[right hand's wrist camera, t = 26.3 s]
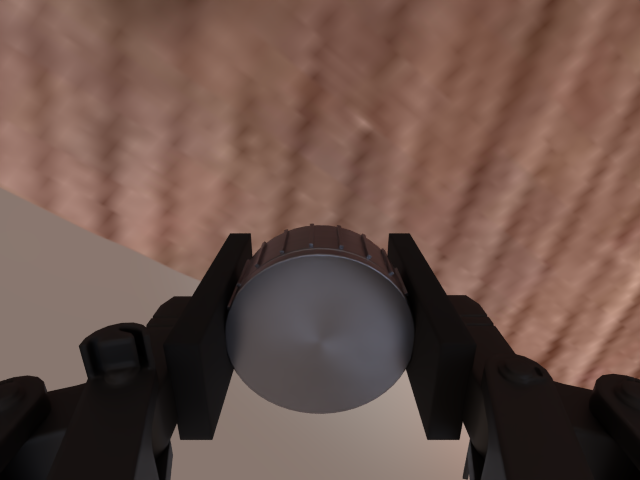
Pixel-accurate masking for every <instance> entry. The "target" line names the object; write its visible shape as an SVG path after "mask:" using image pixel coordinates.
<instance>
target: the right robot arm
mask: <svg viewBox="0 0 640 480" xmlns="http://www.w3.org/2000/svg"><path fill="white" fill-rule="evenodd" d="M387 257H388V259H389V260H390V261H391V263H392V265H393V267H394V269H395V268H397V269H398V271H399V273H400V276H401V278H402V280H403V283H404V285H405V287H406V290H407V292H408V294H409V296H406V297H407V300H408V302H409V305H410V307H411V310H412V313H413V316H414V322H415V338H414V347H413V353H412V356H411V359H410V361H409V364H408V366H407V368H406V371H407V374H408V377H409V381H410V384H411V387H412V390H413V394H414V397H415V400H416V404H417V407H418V410H419V414H420V417H421V420H422V423H423V427H424V430H425V433H426V437H427V439H428V440H459V439H460V434H461V429H462V423H464V425H465V428H466V430H467V432H468V435H469V437H470V442H469V447H468V452H467V457H466V462H465V467H464V473H463V479H468V476H469V477H470V480H640V380H639V379H637V378H634V377H629V376H626V375H618V374H608V375H602V376H601V377H600V378H598V379H597V380H596V383H595V386H594V389H593V390H589V389H585V388H580V387H575V386H571V385H566V384H562V383H558V382H555V381H553V379H552V377H551V376H550V374H549V373H548V372H547V370H546V369H545V368H543V367H542V366H541V365H539V364H538V363H537V362H535V361H533V360H531V359H529V358H527V357H524V356H521V355H517V354H515V353H514V351H513V350H512V348H511V347H510V346H509V344H508V343H507V342H506V340H505V339H504V337H503V336H502V335H501V333H500V332H499V331H498V329H497V328H496V327H495V326H494V325H493V322H492V321H491V320H490V318H489V317H487V314H486V313H485V311H484V310H483V309H482V307H481V306H480V305H479V304H478V303H477V302H475V301H474V300H472V299H471V298H469V297H468V296H466V295H447V294H446V293H445V291H444V289H443V288H442V286H441V285H440V283H439V281H438V280H437V278H436V276H435V275H434V273H433V271H432V270H431V268H430V266H429V265H428V263H427V261H426V260H425V258H424V256H423V255H422V253H421V251H420V250H419V248H418V247H417V245H416V243H415V242H414V240H413V238H412V237H411V235H410V233H389V241H388V255H387ZM251 258H252V245H251V233H230V235H229V236H228V238H227V240H226V241H225V243H224V244H223V246H222V248H221V249H220V251H219V253H218V254H217V256H216V258H215V259H214V261H213V263H212V264H211V266H210V268H209V269H208V271H207V273H206V274H205V276H204V277H203V279H202V281H201V282H200V284H199V286H198V287H197V289H196V291H195V292H194V294H193V296H175V297H173V298H171V299H170V300H168V301H167V302H165V303H164V304H162V305H161V306H160V307H159V309H158V310H157V311H156V313H155V314H154V315H153V318H152V319H151V320H150V321H149V322H148V324H147V326H146V327H145V326H144V325H142V324H137V323H119V324H115V325H110V326H107V327H105V328H102V329H100V330H97V331H95V332H94V333H92V334H91V335H89V336H88V337H86V338H85V339H84V340H83V342H82V343H81V344H80V345H79V348H80V352H81V356H82V359H83V363H84V366H85V370H86V373H87V377H88V380H87V382H86V383H84V384H80V385H77V386H72V387H68V388H63V389H58V390H54V391H49V392H47V390H46V387H45V384H44V381H42V380H41V379H40V378H38V377H34V376H20V377H13V378H10V379H7V380H3V381H0V480H170V478H171V468H172V458H173V453H172V447H171V442H170V438H171V436H172V434H173V431H174V429H175V426H176V424H178V430H179V435H180V440H212V439H213V436H214V433H215V429H216V426H217V423H218V419H219V416H220V413H221V409H222V406H223V403H224V400H225V396H226V393H227V390H228V386H229V383H230V380H231V376H232V373H233V370H234V368H233V366H232V364H231V362H230V359H229V357H228V354H227V349H226V340H225V321H226V317H227V313H228V310H227V306H228V303H229V301H230V298H231V296H232V294H233V291H234V289H235V287H236V284H237V282H238V280H239V278H240V275H241V273H242V271H243V268H244V266H245V264H246V261H247V260H248V259H249V260H251Z"/></svg>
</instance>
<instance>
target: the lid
mask: <svg viewBox="0 0 640 480" xmlns="http://www.w3.org/2000/svg"><path fill="white" fill-rule="evenodd" d="M406 296H409V294H408V292H407V290H406V287H405V285H404V283H403V280H402V278H401V276H400V273H399V271H398V269H397V268H395V269H394V267H393V265H392V263H391V261H390V260H389V259H388V257H387V254H386V252H385V250H384V249H380V248H379V247H378V246H376V245H375V244H374V243H373V242H371V241H370V240H369V239H367V238H366V236H365V235H364V234H362V235H360V234H358V233H355V232H353V231H351V230H347V229H344V228H341V226H340V225H337V227H334V226H324V225H315V226H314V224H310V226H305V227H300V228H296V229H293V230H290V231H288V229H287V230H284V233H282V234H280V235H278V236H276V237H274V238H273V239H271V240H270V241H269V242H267V243H266V242H263V243H262V246H261V248H260V249H259V250H258V251H257V252H256V253H255V255H254V256H253V257H252V258H251V260H249V259H248V260H247V261H246V264H245V266H244V268H243V271H242V273H241V275H240V278H239V280H238V282H237V284H236V287H235V289H234V291H233V294H232V296H231V298H230V301H229V303H228V306H227V310H228V313H227V317H226V321H225V340H226V349H227V354H228V357H229V359H230V362H231V364H232V366H233V368H234V369H235V371H236V373H237V374H238V375H239V377H240V378H241V379H242V381H243V382H244V383H245V384H246V385H247V386H248V387H249V388H250V389H251V390H253V391H254V392H255V393H257V394H258V395H259V396H261V397H262V398H264V399H266V400H267V401H269V402H271V403H273V404H276V405H278V406H281V407H284V408H286V409H289V410H294V411H298V412H304V413H315V414H325V413H336V412H342V411H346V410H350V409H354V408H357V407H359V406H362V405H364V404H367V403H369V402H370V401H372V400H374V399H376V398H378V397H379V396H380V395H382V394H383V393H385V392H386V391H387V390H388V389H389V388H391V387H392V386H393V385H394V384H395V383H396V381H397V380H398V379H399V378H400V377H401V375H402V374H403V372H404V371H405V369H406V368H407V366H408V364H409V361H410V359H411V356H412V353H413V347H414V338H415V322H414V316H413V313H412V310H411V307H410V305H409V302H408V300H407V297H406Z"/></svg>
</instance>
